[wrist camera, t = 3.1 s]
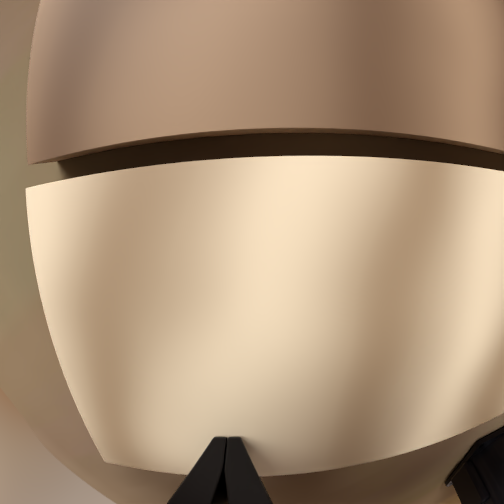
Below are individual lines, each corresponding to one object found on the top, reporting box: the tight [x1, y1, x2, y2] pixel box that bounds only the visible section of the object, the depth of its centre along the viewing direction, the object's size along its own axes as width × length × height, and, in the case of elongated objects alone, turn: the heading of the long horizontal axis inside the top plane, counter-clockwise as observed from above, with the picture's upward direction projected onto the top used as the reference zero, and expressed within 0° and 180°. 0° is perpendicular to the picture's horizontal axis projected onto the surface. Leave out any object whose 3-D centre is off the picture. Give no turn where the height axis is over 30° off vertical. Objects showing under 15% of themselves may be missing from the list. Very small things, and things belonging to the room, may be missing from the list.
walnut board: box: [26, 0, 504, 165], centre depth 6 cm, size 20×7×2 cm, turn 93°
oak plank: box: [26, 156, 504, 477], centre depth 8 cm, size 20×10×2 cm, turn 93°
